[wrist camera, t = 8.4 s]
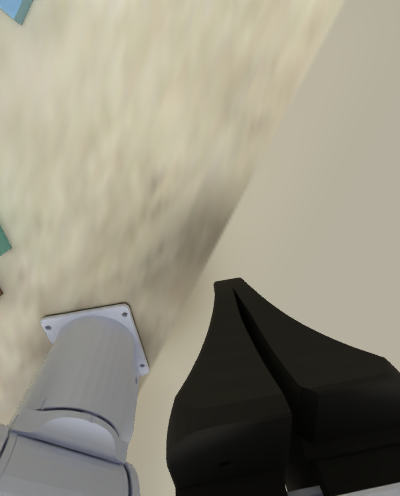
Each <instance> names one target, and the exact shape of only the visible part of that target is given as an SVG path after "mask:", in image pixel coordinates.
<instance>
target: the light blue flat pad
mask: <svg viewBox="0 0 400 496" xmlns="http://www.w3.org/2000/svg"><path fill="white" fill-rule="evenodd" d="M32 1H33V0H0V8H1V9H2V10H3V11H4V12H5V13H7V14H8V15H9V16H10V17H11V18H12V19H14V20H15V21H16V22H18V23H19V24H21V25H22V22H23V20H24V18H25V16H26V14H27V12H28V10H29V7H30V5H31V3H32Z"/></svg>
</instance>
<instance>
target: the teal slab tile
mask: <svg viewBox="0 0 400 496" xmlns="http://www.w3.org/2000/svg"><path fill="white" fill-rule="evenodd" d="M10 248H11V245H10V243H9V241H8V239H7V238H6V236H5V234H4V232H3V230H2V228H1V226H0V256H1V255H2V254H3V253H5V252H6V251H7V250H9V249H10Z"/></svg>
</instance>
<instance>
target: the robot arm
mask: <svg viewBox="0 0 400 496" xmlns="http://www.w3.org/2000/svg"><path fill="white" fill-rule="evenodd" d="M214 291H215V300H214V308H213V313H212V317H211V322H210V326H209V329H208V332H207V336H206V338H205V341H204V344H203V346H202V349H201V351H200V354H199V356H198V358H197V360H196V362H195V364H194V366H193V368H192V370H191V372H190V374H189V376H188V377H187V379H186V381H185V382H184V384H183V386H182V387H181V389H180V390H179V392H178V394H177V395H176V397H175V400H174V403H173V407H172V411H171V415H170V420H169V425H168V432H167V447H166V451H167V452H166V460H167V467H168V469H169V472H170V474H171V477H172V480H173V482H174V485H175V488H176V496H400V372H399V371H398V370H397V369H396V368H395V367H394V366H392V364H391V363H390V362H389V361H387V360H386V359H385V358H384V357H380V356H378V355H375V354H372V353H369V352H366V351H363V350H360V349H357V348H354V347H352V346H349V345H346V344H344V343H342V342H339V341H337V340H334V339H332V338H330V337H327V336H325V335H323V334H321V333H319V332H317V331H315V330H313V329H311V328H309V327H307V326H305V325H303V324H301V323H300V322H298V321H296V320H294V319H293V318H291V317H289V316H288V315H286V314H285V313H283V312H282V311H280V310H279V309H278V308H276V307H275V306H273V305H272V304H271V303H269V302H268V301H267V300H266V299H264V298H263V297H262V296H261V295H259V294H258V293H257V292H256V291H255V290H254V289H253V288H251V287H250V286H249V285H248V284H247V283H246V282H244V280H243V279H241V278H234V279H228V280H222V281H217V282H215V283H214ZM124 312H126V313H127V314H124ZM40 324H41V326H42V328H43V329H44V331H45V333H46V335H47V337H48V338H49V340H50V342H51V344H52V346H51V348H50V350H49V352H48V354H47V355H46V357H45V359H44V361H43V363H42V365H41V366H40V368H39V370H38V372H37V374H36V375H35V377H34V379H33V381H32V383H31V384H30V386H29V388H28V390H27V392H26V394H25V395H24V397H23V399H22V401H21V403H20V404H19V406H18V408H17V410H16V412H15V414H14V415H13V417H12V419H11V421H10V423H9V424H8V425H7V426H6V425H4V424H1V423H0V496H140V487H139V480H138V475H137V472H136V470H135V468H134V467H133V465H132V464H130V463H128V462H126V455H127V447H128V444H129V442H130V440H131V437H132V433H133V427H134V419H135V411H136V403H137V395H138V387H139V379H140V376H141V375H146V374H148V373H149V366H148V363H147V360H146V357H145V354H144V351H143V348H142V344H141V341H140V338H139V335H138V332H137V329H136V326H135V323H134V320H133V317H132V314H131V311H130V308H129V306H128V305H127V304H118V305H112V306H106V307H100V308H95V309H89V310H83V311H77V312H71V313H66V314H60V315H54V316H48V317H44V318H43V319H42V320H41V322H40ZM49 326H50V327H49ZM285 484H286V488H287V491H286V488H285Z"/></svg>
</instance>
